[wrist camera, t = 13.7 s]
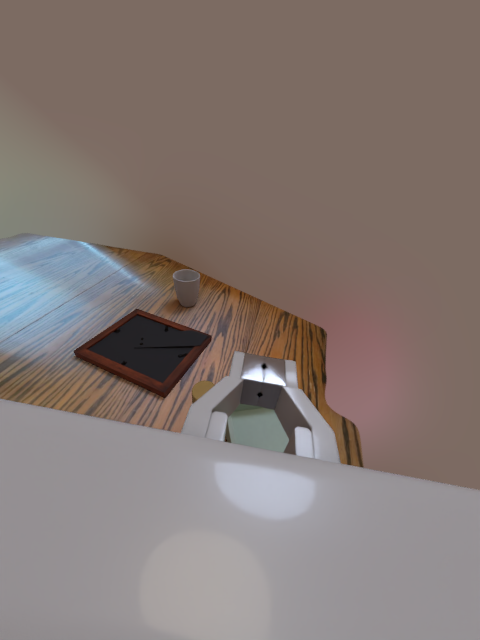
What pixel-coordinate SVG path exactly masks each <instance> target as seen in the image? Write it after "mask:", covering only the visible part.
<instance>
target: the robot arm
mask: <svg viewBox="0 0 480 640" xmlns="http://www.w3.org/2000/svg"><path fill="white" fill-rule="evenodd" d="M244 355H245V356H244ZM240 404H246V405H252V406H258V407H263V408H268V409H273V410H274V411H275V413H276V415H277V417H278V419H279V421H280V423H281V425H282V427H283V429H284V431H285V432H286V434H287V436H288V438H289V442H288V444H287V446H286V448H285V450H284V452H283V453H282V452H277V451H271V450H266V449H261V448H255V447H250V446H245V445H240V444H234V443H229V442H225V435H226V427H227V419H228V418H229V416H230V415H231V414H232V413H233V412H234V411H235V409H236V408H237V407H238V406H239V405H240ZM0 640H480V490H477V489H471V488H466V487H461V486H455V485H449V484H445V483H439V482H434V481H429V480H424V479H418V478H413V477H408V476H403V475H398V474H392V473H387V472H382V471H377V470H371V469H366V468H361V467H356V466H350V465H345V464H341V463H340V458H339V453H338V448H337V443H336V438H335V433H334V431H333V430H332V429H331V427H330V426H329V425H328V423H327V422H326V421H325V420H324V418H323V417H322V416H321V414H320V413H319V412H318V411H317V409H316V408H315V407H314V405H313V404H312V403H311V401H310V400H309V399H308V398H307V396H306V395H305V394H304V392H303V391H302V390H301V389H298V382H297V371H296V362H295V361H290V360H283V359H277V358H271V357H265V356H259V355H254V354H248V353H242V352H237V351H235V352H234V355H233V360H232V364H231V369H230V373H229V377H228V376H225V377H224V378H223V379H222V380H221V381H219V382H218V383H217V384H216V385H215V386H213V387H212V388H211V389H210V390H209V391H207V392H206V393H205V394H204V395H203V396H201V397H200V398H199V399H198V400H197V401H196V402H194V403H193V404H192V405H191V406H190V409H189V412H188V414H187V417H186V420H185V423H184V426H183V428H182V431H181V433H176V432H171V431H166V430H161V429H155V428H150V427H145V426H140V425H134V424H129V423H124V422H119V421H113V420H108V419H103V418H98V417H93V416H87V415H82V414H77V413H72V412H66V411H61V410H56V409H51V408H45V407H40V406H35V405H30V404H24V403H19V402H14V401H9V400H3V399H0Z"/></svg>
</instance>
